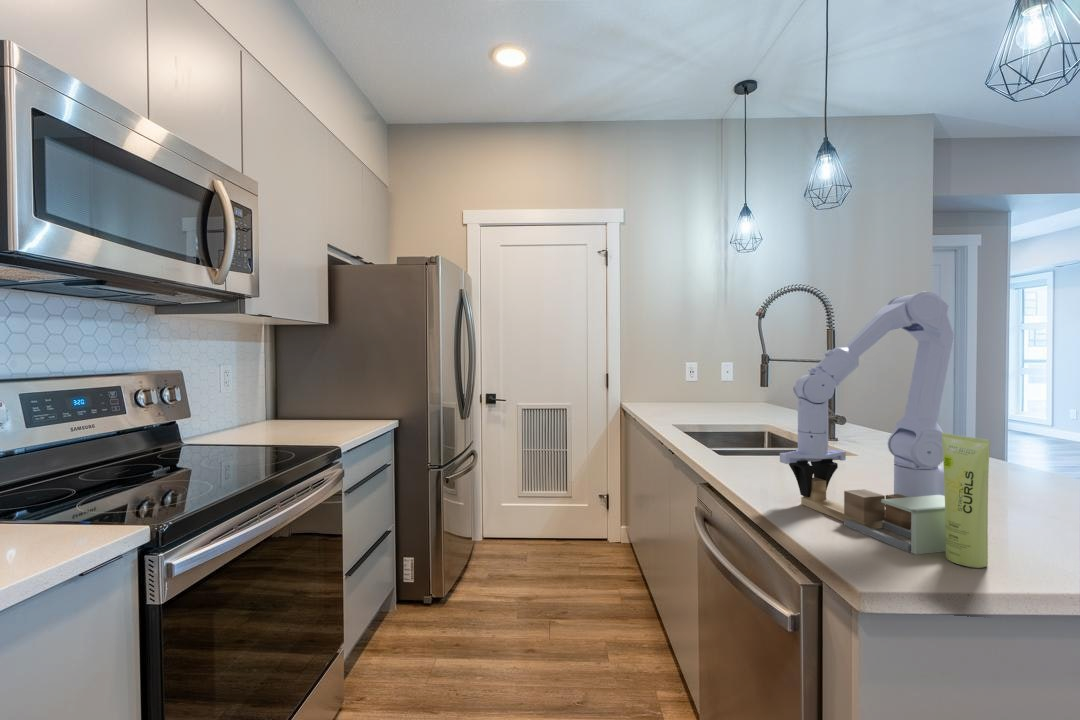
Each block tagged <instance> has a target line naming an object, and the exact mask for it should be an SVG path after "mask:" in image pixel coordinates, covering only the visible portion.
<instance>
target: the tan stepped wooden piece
mask: <svg viewBox="0 0 1080 720" xmlns="http://www.w3.org/2000/svg"><path fill="white" fill-rule="evenodd" d="M800 499H801V501H800V502H801V504H800V505H803V506H805V507H807V508H810V509H813V510H815V511H817V512H819V513H823V514H825V515H826V516H830V517H832V518H834V519H837V520H840V521H842V522H844V520H847V519H849V520H851V521H854V522H856V523H859V524H861V525H864V526H866V527H869V528H871V529H874V530H876V529H883V527H882V521H871V522H862V521H860V520H857V519H855V518H852V517H850V516H847V515H845V514H844V504H841V503H838V502H835V501H833V500H829V499H828V498H827V490H826V481H825V480H822V479H819V478H816V477H814V476H813V477H812V483H811V496H810V497H805V496H801V498H800Z"/></svg>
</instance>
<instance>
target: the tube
mask: <svg viewBox="0 0 1080 720" xmlns="http://www.w3.org/2000/svg"><path fill="white" fill-rule="evenodd" d="M942 445H943V462H942V463H943V468H944V490H945V531H946V551H945V558H946V559H947V560H948V561H950V562H951V563H954V564H957V565H959V566H963V567H969V568H973V569H979V568H981V569H982V568H985V567H987V566H988V564H989V561H988V560H989V549H988V548H989V543H988V542H989V537H988V535H989V534H988V533H989V531H988V530H989V527H988V526H989V520H988V518H989V517H988V515H989V514H988V513H989V511H988V509H989V505H988V504H989V467H990V450H991V449H990V448H991V439H986V438H980V437H979V438H978V437H973V436H972V437H971V436H965V435H959V434H952V433H946V432H943V433H942Z"/></svg>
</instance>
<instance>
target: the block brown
mask: <svg viewBox="0 0 1080 720" xmlns="http://www.w3.org/2000/svg"><path fill="white" fill-rule="evenodd" d="M906 497H907V496H904V495H900V494H894V493H892V494H886V495H885V499H894V498H906ZM884 521H887V522H889V523H892V524H895V525H897V526H900V527H903V528H905V529H908V530H910V526H911V512H908V511H905V510H902V509H899V508H896V507H893V506H890V505H888V504H885V520H884Z"/></svg>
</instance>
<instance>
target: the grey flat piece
mask: <svg viewBox="0 0 1080 720" xmlns="http://www.w3.org/2000/svg"><path fill="white" fill-rule="evenodd" d="M843 526H846V527H848V528H850V529H852V530H855V531H858V532H860V533H863V534H864V535H867V536H869V537H872V538H873V539H877V540H879V541H881V542H883V543H886V544H888V545H890V546H892V547H895V548H897V549H900V550H902V551H904V552H908V553H911V543H908V542H906V541H903V540H900V539H898V538H896V537H893V536H891V535H888V534H885V533H884V532H882V531H879V530H876V529H871V528H869V527H866V526H864V525H861V524H859V523H856V522H854V521H851V520H849V519H847V520H844V521H843ZM882 529H886V530H888V531H890V532H893V533H895V534H898V535H901V536H903V537H906V538H909V539H911V526H910V530H908V529H905V528H903V527H900V526H897V525H895V524H892V523H889V522H887V521H884V520H882Z"/></svg>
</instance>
